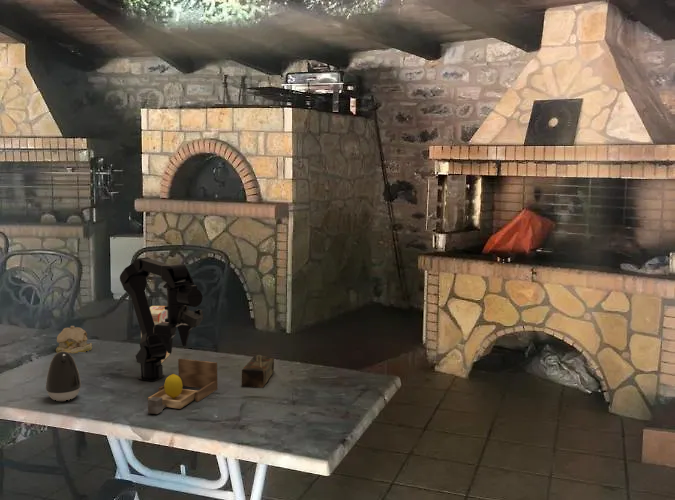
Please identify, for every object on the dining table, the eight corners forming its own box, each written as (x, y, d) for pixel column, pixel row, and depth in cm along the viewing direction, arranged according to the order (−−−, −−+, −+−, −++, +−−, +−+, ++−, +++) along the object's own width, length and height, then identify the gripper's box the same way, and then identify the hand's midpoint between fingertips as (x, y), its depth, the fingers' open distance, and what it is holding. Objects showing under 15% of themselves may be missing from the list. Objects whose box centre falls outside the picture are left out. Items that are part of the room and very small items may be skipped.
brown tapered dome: (47, 406, 204) (45, 357, 202) (45, 396, 213) (43, 349, 212) (83, 401, 209) (81, 353, 207) (79, 391, 218) (77, 345, 216)
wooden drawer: (136, 411, 200) (135, 398, 199) (166, 393, 216) (166, 381, 215) (169, 415, 196) (169, 402, 196) (198, 397, 212) (197, 385, 212)
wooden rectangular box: (275, 372, 242) (275, 354, 241) (263, 389, 223) (263, 370, 222) (253, 371, 242) (253, 353, 242) (240, 388, 224) (240, 369, 223)
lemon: (166, 395, 212) (165, 371, 211) (184, 395, 212) (183, 370, 211) (163, 401, 206) (162, 376, 205) (181, 401, 207) (180, 376, 206)
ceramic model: (50, 354, 262) (49, 329, 261) (60, 346, 273) (59, 322, 272) (87, 354, 263) (86, 328, 262) (96, 346, 274) (95, 322, 273)
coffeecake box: (159, 365, 247) (158, 313, 245) (140, 365, 247) (139, 313, 245) (170, 354, 262) (169, 305, 260) (152, 354, 262) (151, 305, 260)
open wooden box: (158, 397, 214) (157, 369, 212) (180, 384, 226) (179, 358, 225) (197, 401, 209) (197, 373, 208) (217, 389, 222) (217, 362, 221)
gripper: (183, 310, 208) (184, 359, 210) (212, 299, 226) (212, 344, 228) (151, 307, 211) (153, 356, 213) (182, 297, 229) (183, 341, 231)
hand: (177, 349), depth 221 cm, fingers open, 9 cm apart
